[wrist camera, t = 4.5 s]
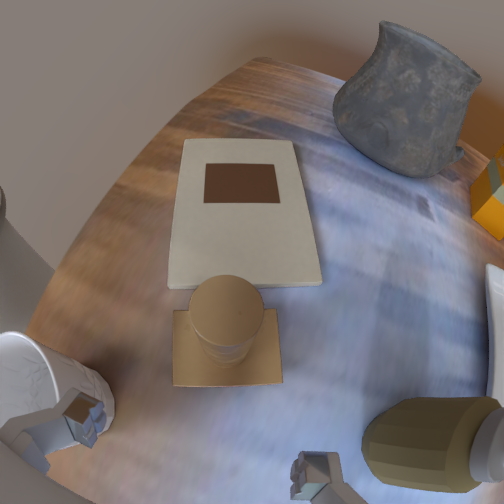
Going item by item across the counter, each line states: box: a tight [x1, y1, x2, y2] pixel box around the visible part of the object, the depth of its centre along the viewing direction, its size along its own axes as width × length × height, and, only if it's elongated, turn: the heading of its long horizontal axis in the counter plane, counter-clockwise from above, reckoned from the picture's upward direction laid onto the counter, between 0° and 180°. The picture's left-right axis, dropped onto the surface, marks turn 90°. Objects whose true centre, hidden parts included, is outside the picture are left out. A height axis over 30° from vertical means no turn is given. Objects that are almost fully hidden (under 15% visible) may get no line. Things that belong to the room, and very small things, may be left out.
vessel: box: [333, 21, 482, 178], centre depth 30 cm, size 22×22×20 cm
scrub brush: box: [172, 275, 283, 387], centre depth 16 cm, size 8×6×13 cm
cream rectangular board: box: [167, 138, 323, 289], centre depth 30 cm, size 14×20×1 cm
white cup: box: [0, 331, 115, 452], centre depth 14 cm, size 8×8×10 cm
